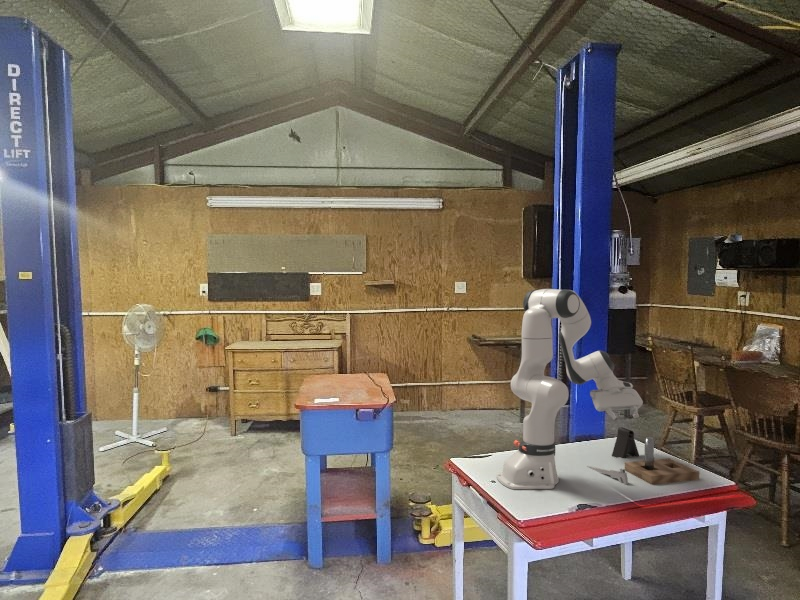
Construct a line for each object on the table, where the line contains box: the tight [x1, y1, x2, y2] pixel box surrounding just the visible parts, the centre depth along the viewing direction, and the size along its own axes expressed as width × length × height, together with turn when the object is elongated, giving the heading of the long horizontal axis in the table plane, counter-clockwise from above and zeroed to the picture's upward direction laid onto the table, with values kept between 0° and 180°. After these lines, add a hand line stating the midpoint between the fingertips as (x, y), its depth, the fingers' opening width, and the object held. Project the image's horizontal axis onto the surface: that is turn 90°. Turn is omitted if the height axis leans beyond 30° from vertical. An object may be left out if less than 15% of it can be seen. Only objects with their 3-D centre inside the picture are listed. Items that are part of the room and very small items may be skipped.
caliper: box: [586, 465, 629, 486], centre depth 176 cm, size 20×1×6 cm, turn 21°
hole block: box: [624, 457, 700, 486], centre depth 175 cm, size 20×14×4 cm
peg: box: [644, 436, 655, 471], centre depth 174 cm, size 3×3×14 cm
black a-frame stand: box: [611, 426, 640, 459], centre depth 197 cm, size 9×6×12 cm, turn 106°
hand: (626, 418), depth 186 cm, fingers open, 8 cm apart
